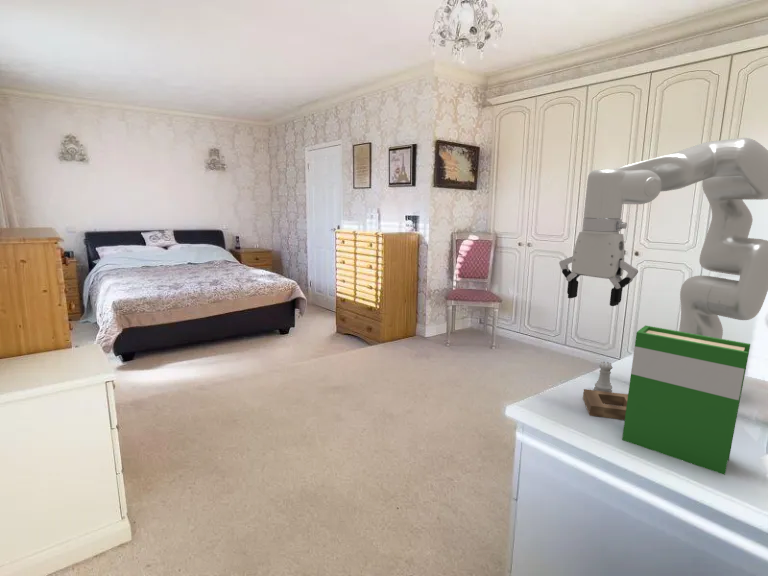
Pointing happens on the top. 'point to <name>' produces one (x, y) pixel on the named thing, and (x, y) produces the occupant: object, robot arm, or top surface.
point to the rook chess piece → (604, 378)
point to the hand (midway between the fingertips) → (592, 301)
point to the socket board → (605, 404)
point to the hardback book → (685, 395)
